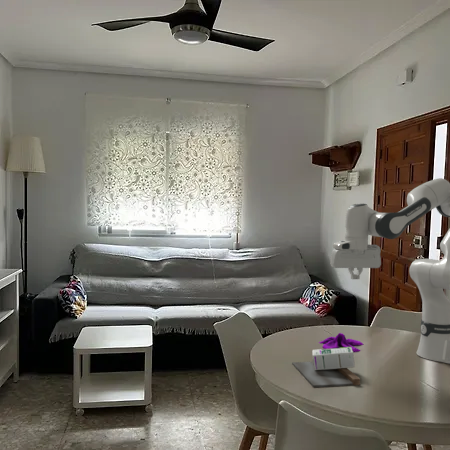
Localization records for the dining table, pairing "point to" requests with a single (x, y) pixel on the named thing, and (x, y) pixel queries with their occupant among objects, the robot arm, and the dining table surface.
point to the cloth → (340, 342)
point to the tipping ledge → (326, 375)
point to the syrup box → (333, 358)
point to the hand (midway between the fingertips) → (355, 279)
